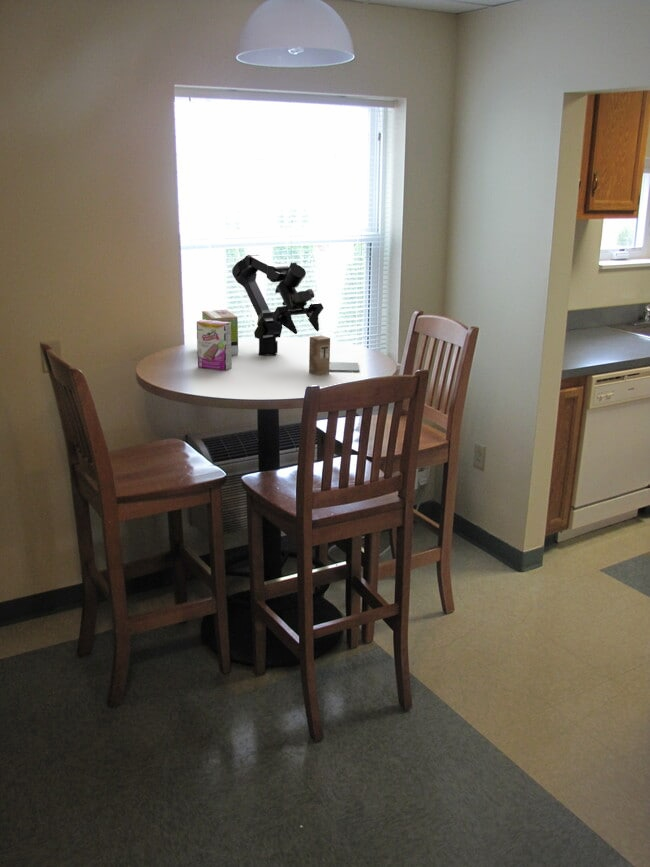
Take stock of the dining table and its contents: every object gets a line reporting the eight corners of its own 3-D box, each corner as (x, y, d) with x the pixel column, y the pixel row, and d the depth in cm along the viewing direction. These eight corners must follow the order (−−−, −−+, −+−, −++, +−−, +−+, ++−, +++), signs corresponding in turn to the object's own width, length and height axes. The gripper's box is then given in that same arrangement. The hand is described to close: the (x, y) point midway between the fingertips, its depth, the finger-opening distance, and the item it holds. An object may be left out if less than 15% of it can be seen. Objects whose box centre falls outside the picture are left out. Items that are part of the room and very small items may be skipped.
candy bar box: (197, 368, 266) (195, 321, 261) (203, 364, 270) (202, 319, 265) (226, 371, 263) (225, 324, 257) (232, 368, 267) (231, 321, 262)
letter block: (309, 372, 264) (309, 337, 260) (320, 370, 267) (321, 335, 262) (318, 376, 260) (319, 340, 256) (330, 374, 263) (331, 338, 258)
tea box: (202, 348, 295) (201, 310, 290) (227, 346, 298) (227, 308, 294) (213, 357, 282) (212, 317, 277) (239, 355, 286) (238, 315, 281)
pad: (327, 371, 266) (327, 369, 266) (327, 363, 276) (327, 362, 276) (359, 372, 266) (359, 370, 266) (357, 364, 276) (357, 362, 276)
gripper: (276, 283, 258) (294, 321, 253) (321, 279, 268) (339, 315, 264) (264, 303, 266) (281, 339, 262) (307, 298, 277) (325, 334, 272)
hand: (307, 332), depth 265 cm, fingers open, 9 cm apart
